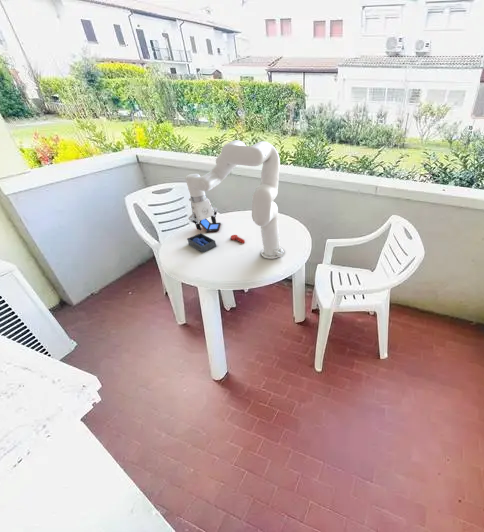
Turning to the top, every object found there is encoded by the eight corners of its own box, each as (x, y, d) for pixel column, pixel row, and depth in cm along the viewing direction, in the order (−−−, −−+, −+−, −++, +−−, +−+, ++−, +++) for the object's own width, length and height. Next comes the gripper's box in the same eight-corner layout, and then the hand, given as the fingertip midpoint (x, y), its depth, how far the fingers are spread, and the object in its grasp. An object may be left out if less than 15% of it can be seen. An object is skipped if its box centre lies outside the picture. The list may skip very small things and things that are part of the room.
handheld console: (218, 232, 185) (216, 221, 180) (201, 233, 183) (198, 223, 179) (221, 223, 195) (218, 213, 191) (204, 224, 193) (202, 214, 189)
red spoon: (247, 242, 174) (246, 238, 173) (241, 244, 171) (240, 241, 170) (235, 236, 180) (234, 233, 179) (229, 238, 177) (229, 235, 176)
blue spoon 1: (208, 245, 167) (206, 244, 165) (203, 251, 166) (201, 249, 164) (197, 237, 172) (194, 236, 170) (192, 243, 171) (190, 241, 169)
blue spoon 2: (213, 245, 169) (212, 242, 168) (207, 248, 167) (206, 245, 165) (203, 239, 176) (202, 236, 174) (196, 241, 173) (195, 238, 172)
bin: (216, 246, 169) (215, 240, 167) (202, 252, 163) (201, 246, 161) (202, 238, 177) (200, 233, 175) (188, 244, 171) (187, 238, 169)
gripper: (187, 204, 144) (197, 234, 154) (216, 194, 155) (223, 222, 165) (180, 201, 148) (189, 230, 158) (209, 191, 159) (216, 219, 169)
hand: (207, 226), depth 161 cm, fingers open, 9 cm apart
